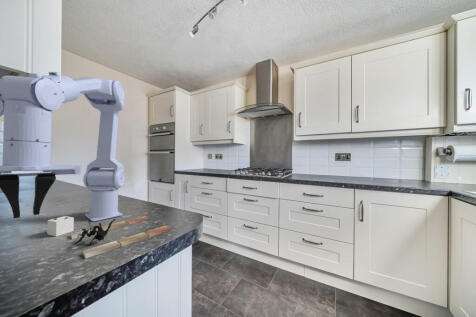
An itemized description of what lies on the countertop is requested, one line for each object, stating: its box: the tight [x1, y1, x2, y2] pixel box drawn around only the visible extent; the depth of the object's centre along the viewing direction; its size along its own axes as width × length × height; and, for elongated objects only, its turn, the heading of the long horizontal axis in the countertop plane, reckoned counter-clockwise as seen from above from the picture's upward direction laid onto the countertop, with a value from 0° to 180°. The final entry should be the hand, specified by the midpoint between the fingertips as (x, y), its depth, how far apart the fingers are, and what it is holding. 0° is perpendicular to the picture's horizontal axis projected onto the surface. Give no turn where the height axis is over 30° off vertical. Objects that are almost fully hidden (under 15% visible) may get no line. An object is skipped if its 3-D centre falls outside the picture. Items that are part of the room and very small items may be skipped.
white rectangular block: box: [46, 215, 75, 237], centre depth 44 cm, size 4×4×4 cm
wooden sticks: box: [69, 215, 172, 259], centre depth 45 cm, size 15×18×1 cm
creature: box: [67, 218, 116, 249], centre depth 40 cm, size 8×5×8 cm
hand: (26, 215), depth 32 cm, fingers closed
